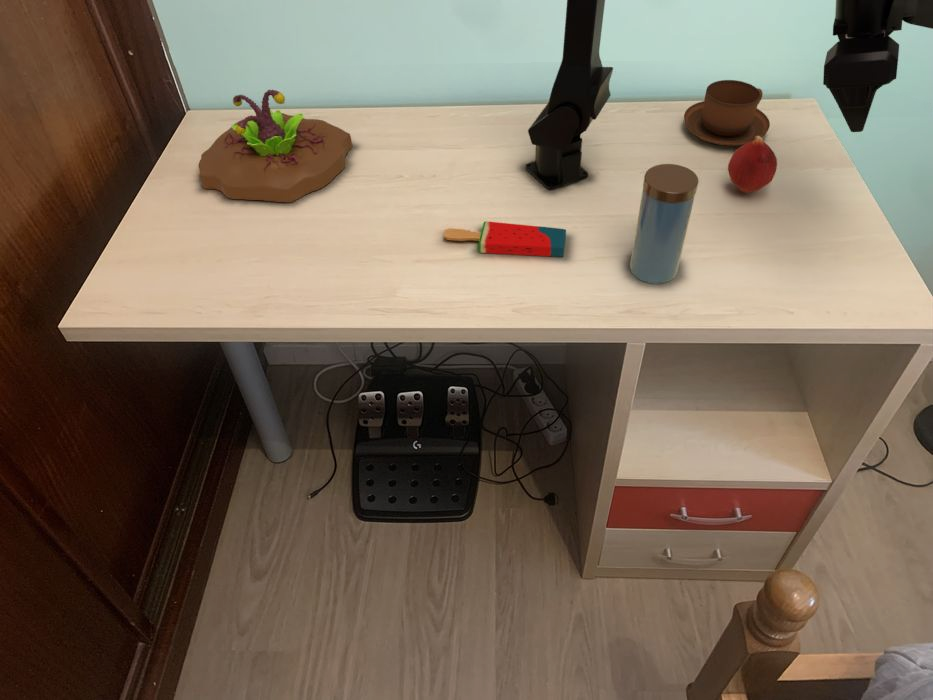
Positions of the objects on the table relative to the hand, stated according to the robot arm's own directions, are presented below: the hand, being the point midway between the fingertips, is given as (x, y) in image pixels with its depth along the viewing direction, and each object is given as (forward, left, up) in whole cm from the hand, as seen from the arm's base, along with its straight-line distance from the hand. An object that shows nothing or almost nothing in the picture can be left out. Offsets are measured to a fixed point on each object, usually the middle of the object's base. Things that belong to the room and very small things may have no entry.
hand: (859, 110), depth 80 cm
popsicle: (-16, -35, -16) cm, 42 cm away
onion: (-10, -2, -16) cm, 19 cm away
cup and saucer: (-23, +6, -16) cm, 29 cm away
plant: (-48, -54, -16) cm, 74 cm away
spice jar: (-3, -22, -16) cm, 27 cm away
